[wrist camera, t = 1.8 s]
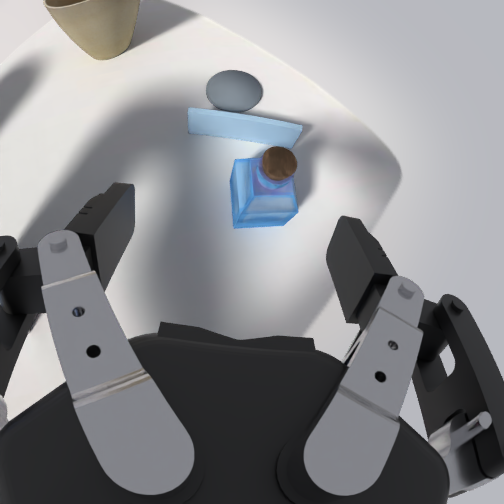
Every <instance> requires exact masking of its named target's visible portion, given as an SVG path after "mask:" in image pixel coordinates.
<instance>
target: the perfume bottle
mask: <svg viewBox="0 0 504 504" xmlns="http://www.w3.org/2000/svg"><path fill="white" fill-rule="evenodd" d="M296 168H297V161H296V158H295V156H294V155H293V153H292V152H291V151H289V150H288V149H286V148H284V147H279V146H276V147H271V148H269V149H268V150H267V151H266V152H265V153H264V155H263V156H262V157H261V158H247V159H235V162H234V166H233V170H232V174H231V178H230V190H231V202H232V215H233V227H234V229H235V228H252V227H270V226H284V225H285V224H286V223H287V222H288V221H289V220H290V219H291V218H292V217H294V216H295V215H296V214H297V213H298V206H297V199H296V192H295V185H294V178H293V176H294V173H295V171H296Z"/></svg>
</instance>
